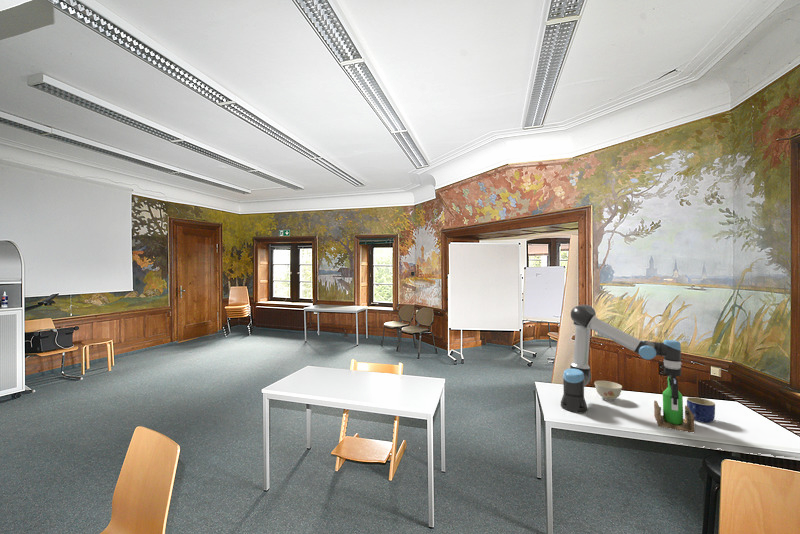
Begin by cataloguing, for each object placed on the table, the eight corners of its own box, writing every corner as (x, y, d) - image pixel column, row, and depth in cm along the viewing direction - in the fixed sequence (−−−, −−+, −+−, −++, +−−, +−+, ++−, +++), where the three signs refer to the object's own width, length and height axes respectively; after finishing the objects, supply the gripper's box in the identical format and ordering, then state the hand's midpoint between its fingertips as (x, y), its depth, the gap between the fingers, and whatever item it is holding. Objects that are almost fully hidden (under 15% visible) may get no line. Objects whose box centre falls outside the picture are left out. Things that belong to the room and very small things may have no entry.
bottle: (687, 425, 184) (685, 380, 184) (669, 424, 185) (668, 379, 186) (677, 418, 192) (676, 375, 193) (660, 417, 194) (659, 374, 194)
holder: (658, 426, 186) (658, 409, 186) (654, 415, 200) (654, 400, 200) (694, 433, 178) (694, 415, 178) (687, 421, 192) (687, 405, 192)
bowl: (591, 398, 227) (591, 384, 227) (598, 393, 238) (598, 379, 238) (618, 405, 215) (618, 390, 215) (625, 399, 226) (625, 384, 226)
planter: (709, 426, 186) (709, 406, 187) (682, 417, 197) (682, 399, 198) (719, 421, 192) (719, 402, 192) (692, 413, 203) (692, 395, 203)
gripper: (685, 373, 178) (685, 415, 177) (677, 363, 197) (677, 401, 197) (667, 371, 182) (668, 412, 181) (661, 362, 201) (661, 398, 201)
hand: (673, 406), depth 189 cm, fingers open, 11 cm apart
